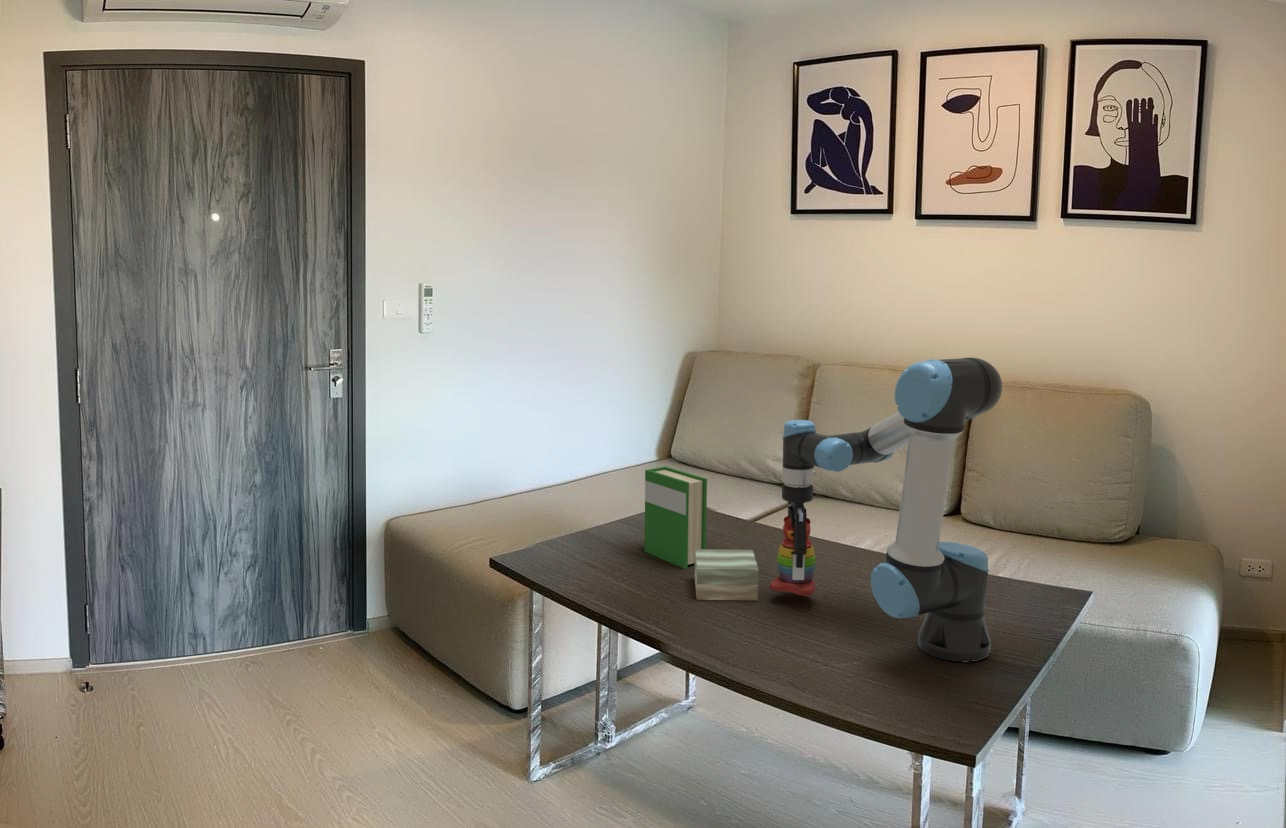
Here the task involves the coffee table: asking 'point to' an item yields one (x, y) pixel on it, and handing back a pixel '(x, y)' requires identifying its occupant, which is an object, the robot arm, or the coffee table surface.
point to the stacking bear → (786, 563)
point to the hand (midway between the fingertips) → (795, 572)
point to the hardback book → (675, 515)
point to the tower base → (726, 592)
